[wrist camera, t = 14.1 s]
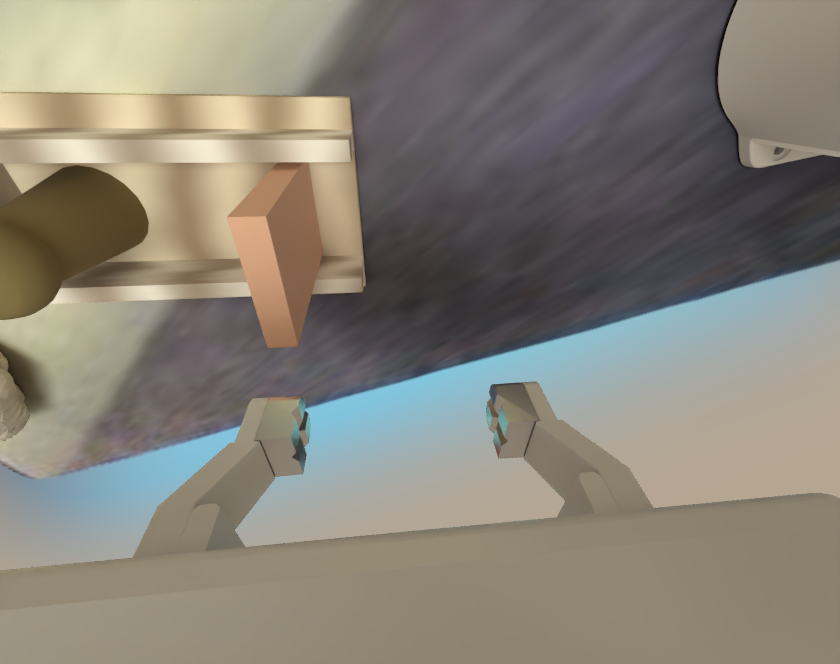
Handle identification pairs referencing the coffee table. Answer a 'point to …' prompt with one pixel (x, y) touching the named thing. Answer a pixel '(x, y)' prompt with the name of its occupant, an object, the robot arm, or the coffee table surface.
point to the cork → (63, 234)
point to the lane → (188, 180)
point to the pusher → (279, 249)
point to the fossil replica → (10, 404)
